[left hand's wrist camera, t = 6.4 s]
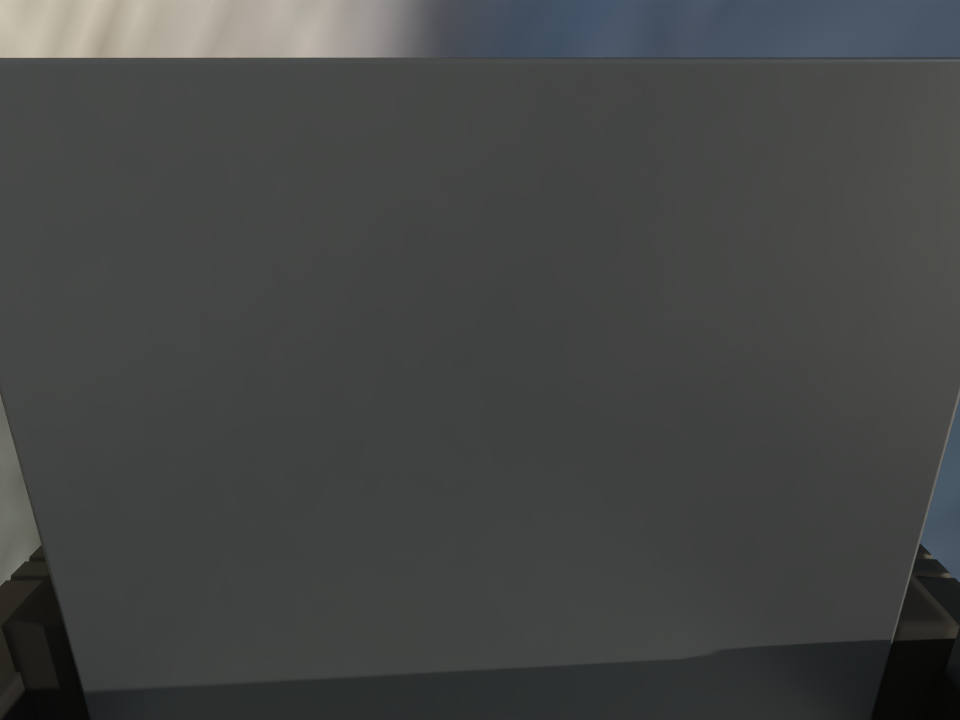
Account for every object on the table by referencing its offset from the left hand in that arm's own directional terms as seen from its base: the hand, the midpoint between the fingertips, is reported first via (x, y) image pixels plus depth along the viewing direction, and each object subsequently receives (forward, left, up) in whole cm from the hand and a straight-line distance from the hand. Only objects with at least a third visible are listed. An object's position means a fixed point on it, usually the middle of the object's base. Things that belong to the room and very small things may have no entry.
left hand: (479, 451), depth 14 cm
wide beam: (+19, +14, -1) cm, 24 cm away
